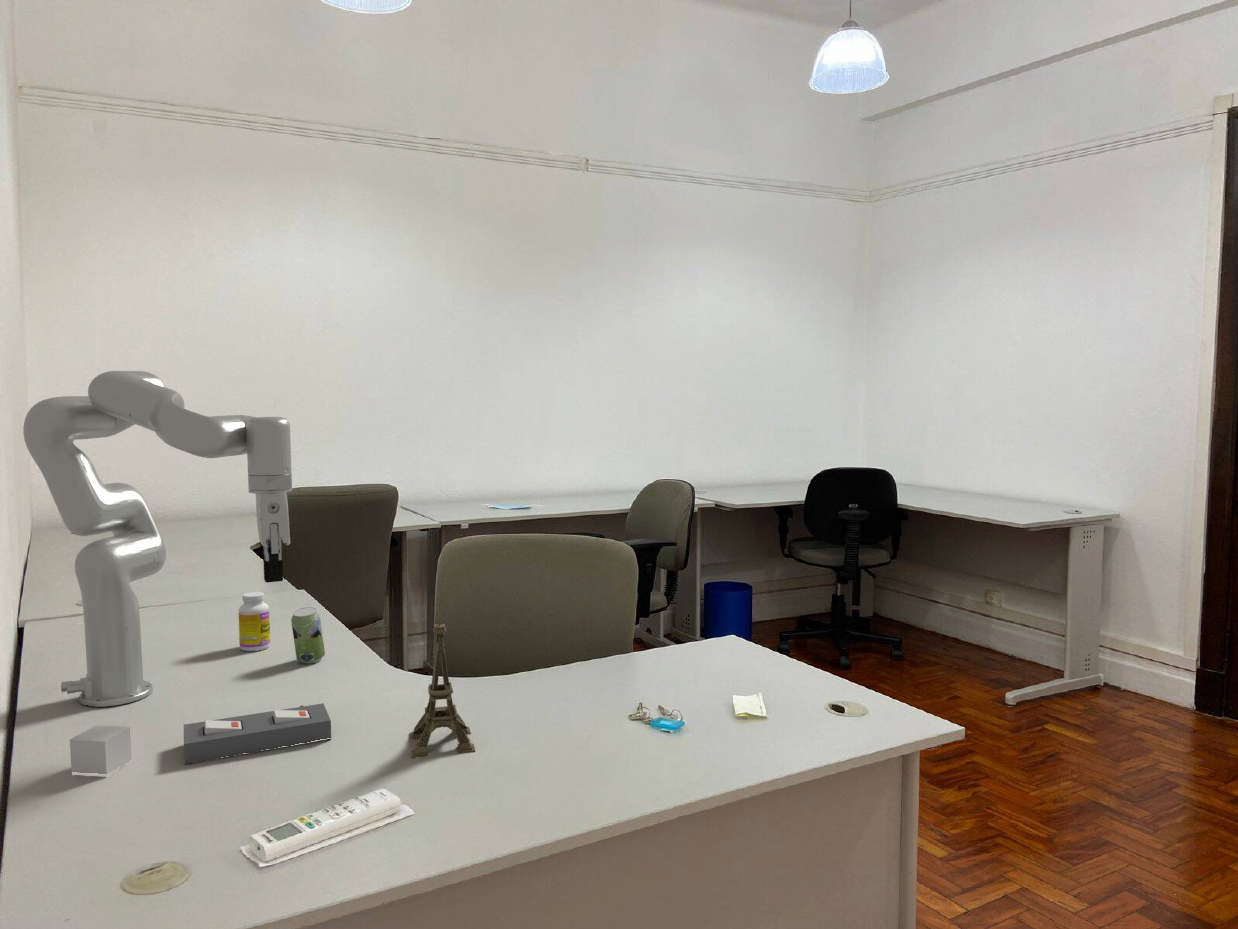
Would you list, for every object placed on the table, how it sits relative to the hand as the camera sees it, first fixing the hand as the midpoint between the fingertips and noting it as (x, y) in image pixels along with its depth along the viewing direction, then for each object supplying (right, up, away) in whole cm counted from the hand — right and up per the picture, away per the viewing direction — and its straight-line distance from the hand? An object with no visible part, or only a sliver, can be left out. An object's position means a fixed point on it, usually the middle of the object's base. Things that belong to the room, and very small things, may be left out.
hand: (273, 580), depth 165 cm
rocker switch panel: (0, -26, -9) cm, 27 cm away
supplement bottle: (-20, -21, +41) cm, 51 cm away
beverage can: (-4, -22, +31) cm, 39 cm away
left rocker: (-3, -23, -15) cm, 28 cm away
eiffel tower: (+34, -27, -12) cm, 45 cm away
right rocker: (+7, -23, -10) cm, 26 cm away
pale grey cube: (-19, -28, -22) cm, 40 cm away
